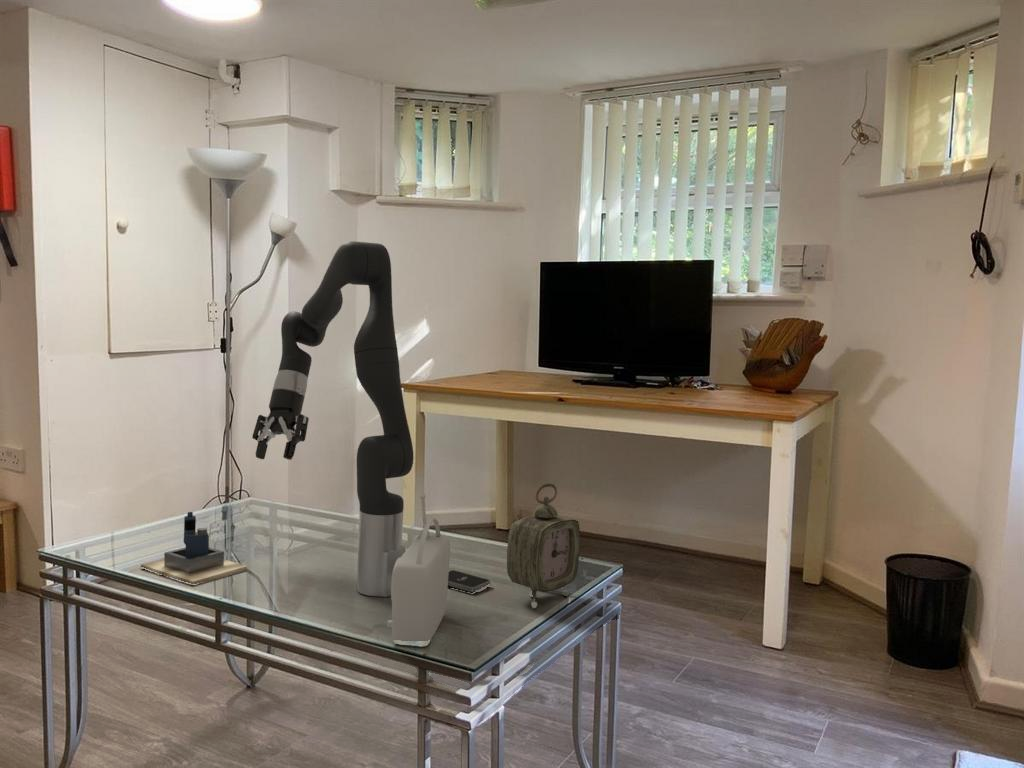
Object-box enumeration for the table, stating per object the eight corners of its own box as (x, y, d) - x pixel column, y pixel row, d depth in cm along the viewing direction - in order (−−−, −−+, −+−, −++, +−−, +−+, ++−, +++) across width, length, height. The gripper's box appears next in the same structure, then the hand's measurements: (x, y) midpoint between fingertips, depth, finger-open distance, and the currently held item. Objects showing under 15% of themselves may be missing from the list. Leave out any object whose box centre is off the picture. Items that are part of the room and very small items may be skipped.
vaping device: (182, 564, 177) (183, 511, 177) (208, 562, 180) (209, 510, 179) (183, 567, 175) (184, 514, 174) (208, 566, 177) (209, 512, 176)
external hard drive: (472, 597, 170) (472, 588, 169) (432, 585, 176) (432, 576, 176) (491, 589, 175) (491, 580, 175) (452, 578, 181) (452, 569, 181)
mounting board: (246, 570, 178) (246, 566, 178) (192, 586, 167) (192, 581, 167) (195, 555, 188) (195, 550, 188) (140, 568, 176) (140, 564, 176)
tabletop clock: (534, 613, 160) (541, 491, 158) (501, 602, 166) (506, 483, 164) (577, 597, 171) (583, 482, 169) (544, 586, 177) (549, 476, 175)
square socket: (223, 564, 179) (223, 551, 178) (189, 574, 171) (189, 560, 171) (198, 557, 183) (198, 544, 183) (164, 565, 176) (164, 552, 176)
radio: (408, 607, 160) (412, 485, 159) (448, 610, 160) (453, 487, 158) (380, 650, 139) (385, 509, 137) (426, 654, 138) (432, 513, 136)
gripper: (255, 388, 189) (239, 454, 184) (301, 386, 182) (285, 454, 177) (277, 398, 195) (262, 462, 190) (322, 397, 189) (307, 463, 183)
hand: (273, 458), depth 184 cm, fingers open, 8 cm apart
